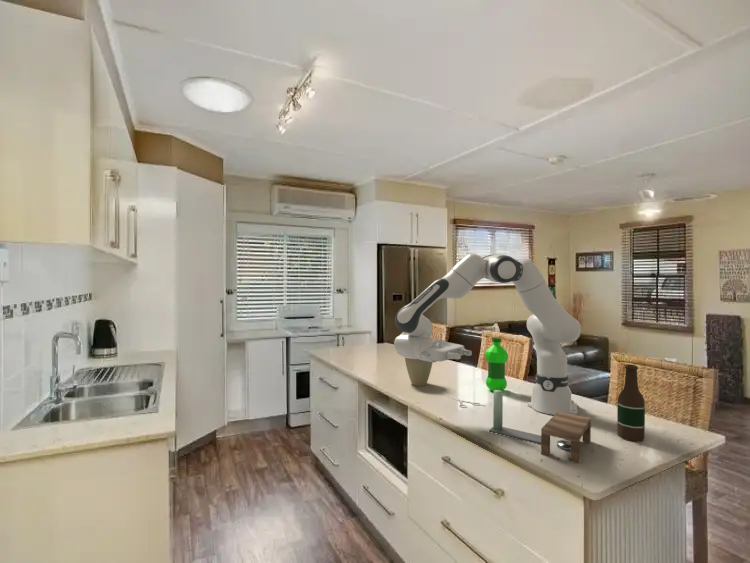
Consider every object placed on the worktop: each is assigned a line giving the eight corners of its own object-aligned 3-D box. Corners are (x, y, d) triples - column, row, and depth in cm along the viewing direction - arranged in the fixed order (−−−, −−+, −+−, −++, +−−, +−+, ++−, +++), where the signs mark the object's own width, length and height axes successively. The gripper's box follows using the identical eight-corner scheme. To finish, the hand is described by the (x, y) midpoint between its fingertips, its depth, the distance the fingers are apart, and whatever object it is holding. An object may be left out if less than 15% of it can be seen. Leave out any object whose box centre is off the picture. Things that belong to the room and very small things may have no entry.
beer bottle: (614, 431, 136) (615, 362, 136) (641, 435, 133) (642, 364, 133) (619, 440, 129) (620, 366, 129) (647, 443, 126) (648, 368, 126)
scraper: (488, 432, 135) (489, 391, 135) (495, 427, 139) (495, 388, 140) (541, 445, 124) (541, 401, 124) (546, 439, 129) (546, 397, 129)
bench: (557, 433, 134) (557, 411, 134) (590, 441, 127) (590, 418, 127) (541, 453, 118) (541, 428, 118) (578, 463, 112) (578, 436, 112)
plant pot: (418, 379, 209) (418, 348, 209) (439, 384, 197) (440, 352, 197) (397, 383, 199) (397, 351, 199) (418, 389, 188) (418, 356, 188)
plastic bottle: (482, 387, 192) (482, 336, 192) (503, 387, 192) (503, 336, 193) (488, 393, 182) (489, 339, 182) (511, 393, 182) (511, 339, 183)
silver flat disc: (559, 443, 127) (559, 438, 127) (578, 447, 123) (578, 443, 123) (555, 448, 122) (555, 444, 122) (574, 453, 119) (574, 449, 119)
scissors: (464, 408, 159) (437, 395, 177) (464, 410, 159) (437, 396, 177) (485, 405, 163) (457, 392, 182) (485, 407, 163) (457, 394, 182)
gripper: (418, 345, 143) (453, 349, 135) (444, 339, 159) (476, 343, 151) (417, 362, 143) (452, 368, 135) (443, 355, 159) (476, 360, 151)
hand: (465, 355), depth 143 cm, fingers open, 8 cm apart
